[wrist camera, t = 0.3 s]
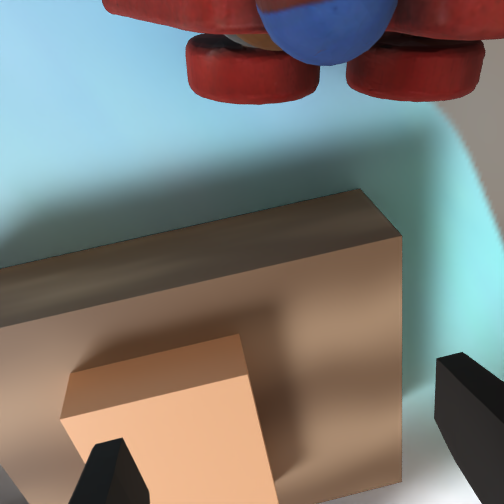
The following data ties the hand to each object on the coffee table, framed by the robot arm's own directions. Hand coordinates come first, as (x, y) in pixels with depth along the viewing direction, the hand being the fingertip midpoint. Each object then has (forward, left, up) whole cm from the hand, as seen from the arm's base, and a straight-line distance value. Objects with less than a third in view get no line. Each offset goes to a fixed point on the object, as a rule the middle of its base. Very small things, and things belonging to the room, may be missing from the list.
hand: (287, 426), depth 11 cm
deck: (-6, +3, -10) cm, 12 cm away
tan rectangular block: (-6, +4, -6) cm, 10 cm away
